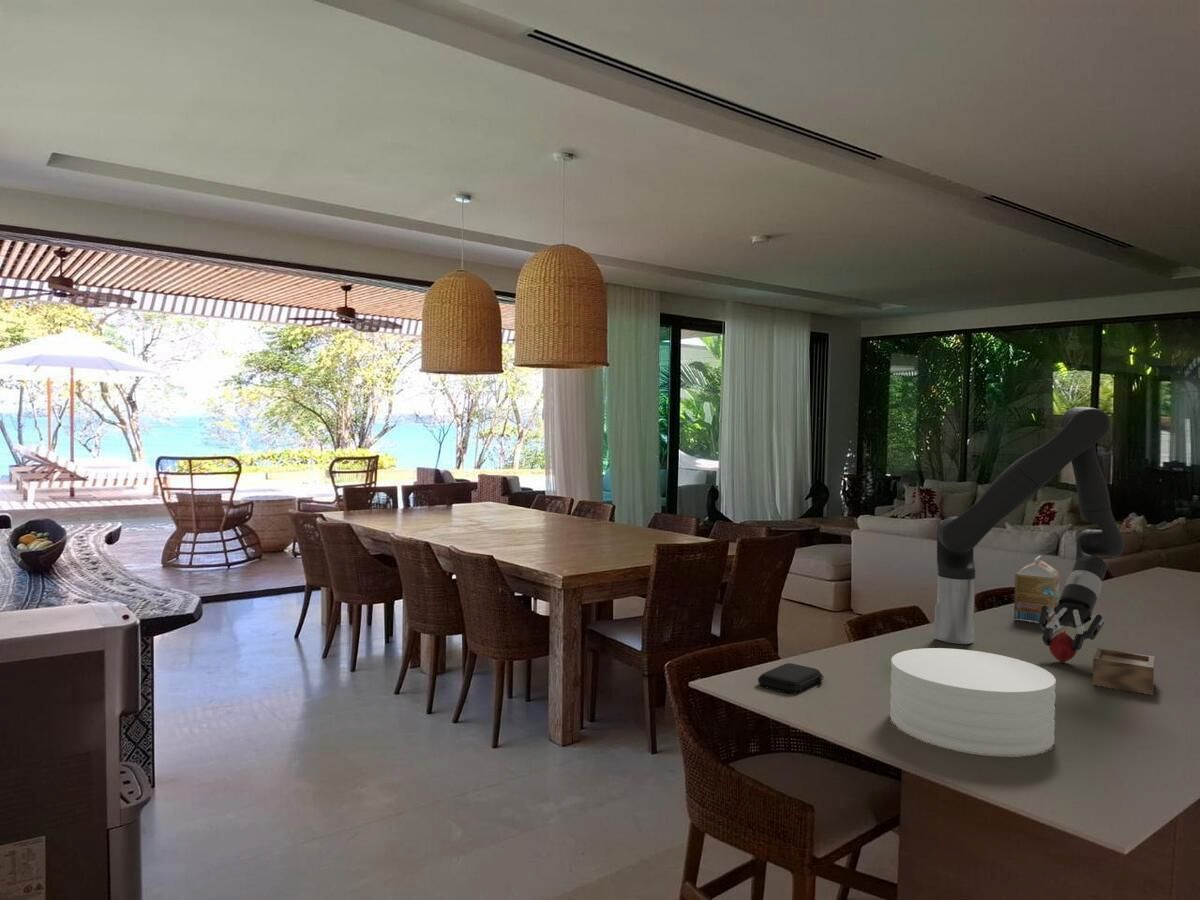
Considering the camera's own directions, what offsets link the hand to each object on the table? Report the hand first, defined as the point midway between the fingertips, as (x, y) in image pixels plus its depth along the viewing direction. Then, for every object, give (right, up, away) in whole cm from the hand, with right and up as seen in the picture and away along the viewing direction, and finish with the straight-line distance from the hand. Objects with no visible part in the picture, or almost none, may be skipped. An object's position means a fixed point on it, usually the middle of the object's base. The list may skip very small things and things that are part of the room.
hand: (1060, 646), depth 194 cm
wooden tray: (+5, -5, -15) cm, 17 cm away
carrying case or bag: (-70, -4, -19) cm, 72 cm away
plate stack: (-43, -5, -44) cm, 61 cm away
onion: (+1, -4, +1) cm, 5 cm away
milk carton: (+20, -4, +48) cm, 52 cm away
